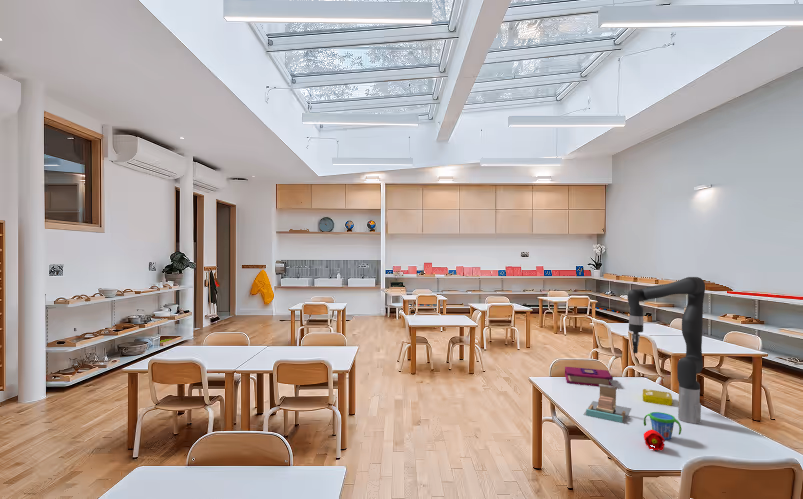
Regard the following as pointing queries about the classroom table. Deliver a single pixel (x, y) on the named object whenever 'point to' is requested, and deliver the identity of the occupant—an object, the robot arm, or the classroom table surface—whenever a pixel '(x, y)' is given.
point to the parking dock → (618, 410)
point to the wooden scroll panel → (607, 399)
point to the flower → (654, 440)
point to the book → (587, 376)
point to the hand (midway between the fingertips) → (635, 352)
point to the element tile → (657, 397)
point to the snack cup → (663, 424)
